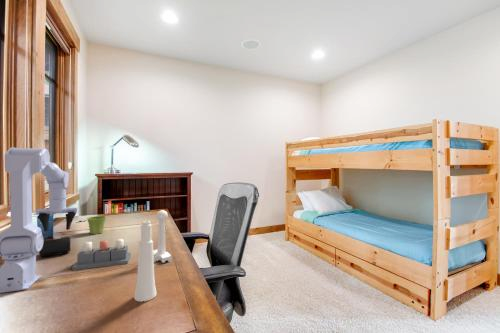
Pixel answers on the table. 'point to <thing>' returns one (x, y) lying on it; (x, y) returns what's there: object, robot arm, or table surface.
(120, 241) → the far ivory plug
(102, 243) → the salmon rounded peg
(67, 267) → the table surface
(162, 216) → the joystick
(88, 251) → the near ivory plug
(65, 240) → the end cap
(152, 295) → the cosmetic bottle
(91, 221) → the plant pot
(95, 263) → the socket strip
